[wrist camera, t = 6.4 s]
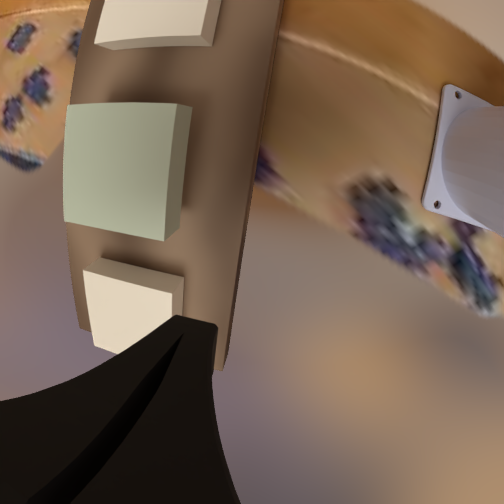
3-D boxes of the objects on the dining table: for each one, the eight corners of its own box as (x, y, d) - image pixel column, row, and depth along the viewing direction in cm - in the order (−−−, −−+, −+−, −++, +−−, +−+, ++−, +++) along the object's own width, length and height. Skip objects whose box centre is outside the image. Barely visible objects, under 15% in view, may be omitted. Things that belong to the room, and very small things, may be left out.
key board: (289, -32, 12) (288, -48, 10) (227, 353, 22) (222, 371, 20) (116, -23, 13) (101, -32, 11) (92, 315, 23) (79, 327, 21)
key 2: (184, 277, 18) (172, 293, 16) (181, 352, 20) (172, 371, 18) (99, 257, 18) (82, 270, 16) (107, 329, 20) (94, 345, 19)
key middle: (192, 107, 13) (176, 103, 11) (179, 228, 15) (164, 241, 13) (90, 105, 13) (67, 104, 11) (85, 211, 15) (64, 221, 14)
